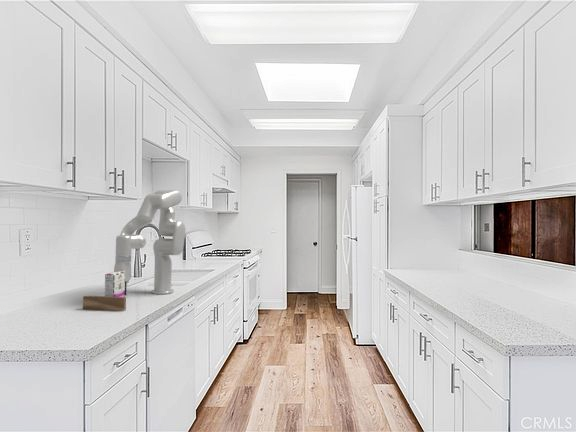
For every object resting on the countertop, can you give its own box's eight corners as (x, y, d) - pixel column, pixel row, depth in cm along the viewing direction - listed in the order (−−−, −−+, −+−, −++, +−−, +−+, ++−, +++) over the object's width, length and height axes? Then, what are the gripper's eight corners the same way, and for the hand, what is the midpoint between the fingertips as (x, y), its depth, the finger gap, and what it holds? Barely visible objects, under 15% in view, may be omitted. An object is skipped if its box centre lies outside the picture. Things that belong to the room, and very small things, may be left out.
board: (85, 308, 193) (85, 295, 193) (125, 310, 191) (126, 297, 191) (82, 309, 191) (83, 296, 191) (123, 310, 189) (123, 297, 189)
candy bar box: (115, 303, 205) (116, 271, 205) (125, 303, 204) (125, 271, 204) (103, 308, 193) (104, 273, 194) (113, 308, 193) (114, 274, 193)
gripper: (123, 257, 216) (122, 292, 215) (108, 260, 201) (107, 297, 201) (137, 258, 215) (136, 293, 215) (123, 261, 200) (122, 298, 200)
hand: (122, 295), depth 208 cm, fingers closed
